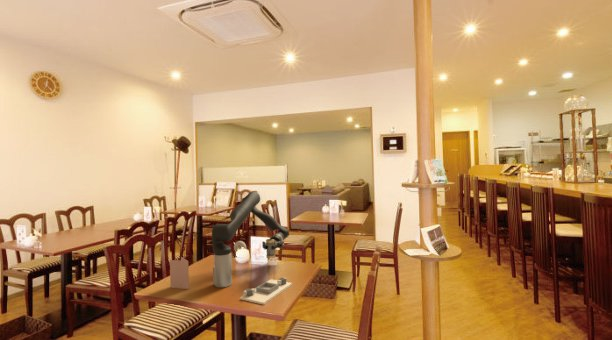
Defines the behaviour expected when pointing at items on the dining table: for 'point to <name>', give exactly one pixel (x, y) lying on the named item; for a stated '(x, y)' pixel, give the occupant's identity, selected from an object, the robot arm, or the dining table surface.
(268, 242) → the cylinder
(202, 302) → the dining table surface
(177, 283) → the greeting card
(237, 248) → the donut
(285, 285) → the stand
